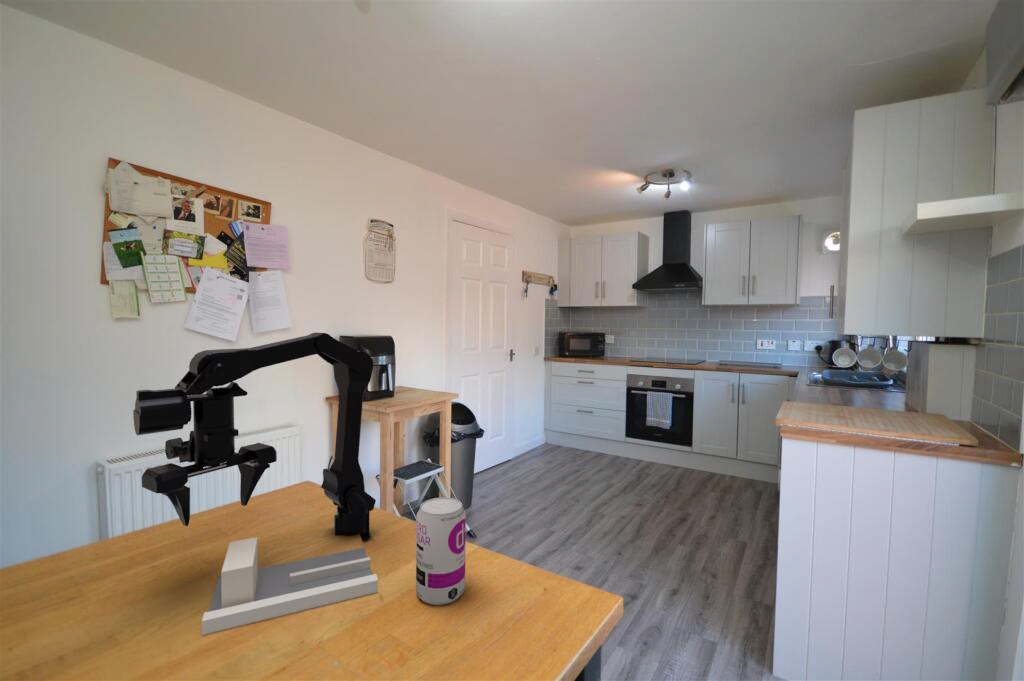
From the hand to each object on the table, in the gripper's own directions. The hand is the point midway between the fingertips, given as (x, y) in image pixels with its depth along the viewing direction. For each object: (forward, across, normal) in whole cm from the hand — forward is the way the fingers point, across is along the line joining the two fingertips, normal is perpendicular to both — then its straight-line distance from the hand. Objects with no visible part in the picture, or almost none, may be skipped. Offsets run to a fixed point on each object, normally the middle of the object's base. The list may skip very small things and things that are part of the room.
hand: (216, 514), depth 76 cm
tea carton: (+11, +1, +9) cm, 14 cm away
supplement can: (+13, -18, +34) cm, 41 cm away
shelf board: (+12, -6, +13) cm, 19 cm away
